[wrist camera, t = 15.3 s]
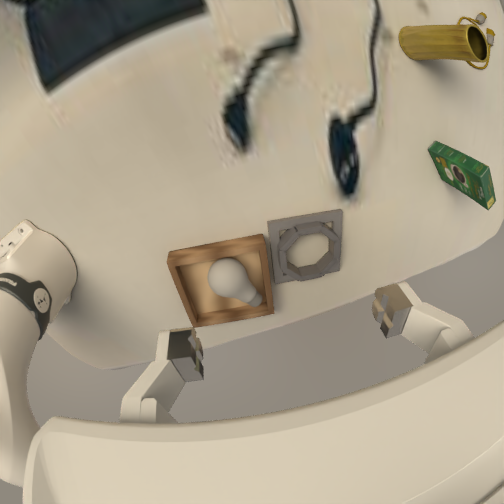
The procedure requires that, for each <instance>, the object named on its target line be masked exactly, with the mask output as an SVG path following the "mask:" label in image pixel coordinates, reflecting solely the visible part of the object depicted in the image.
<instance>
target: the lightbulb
mask: <svg viewBox="0 0 504 504" xmlns="http://www.w3.org/2000/svg"><path fill="white" fill-rule="evenodd" d="M207 278H208V283H209V286H210V288H211V289H212V291H213V292H214V293H216V294H217V295H219V296H222V297H229V298H236V299H239V300H241V301H242V302H244V303H247V304H249V305H250V306H252V307H257V306H259V305H260V304H261V302H262V295H261V294H260V293H259V292H258V291H256V288H255V287H254V286H253V285H252V284H251V282H250V281H249V279H248V276H247V273H246V270H245V268H244V266H243V265H242V264H241V263H240V262H239V261H237V260H236V259H233V258H221V259H219V260H217V261H216V262H214V263H213V264H212V265H211V267H210V269H209V271H208V276H207Z"/></svg>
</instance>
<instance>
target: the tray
mask: <svg viewBox="0 0 504 504" xmlns="http://www.w3.org/2000/svg"><path fill="white" fill-rule="evenodd" d="M221 258H233V259H236V260H237V261H239V262H240V263H241V264H242V265H243V266H244V268H245V270H246V273H247V276H248V279H249V281H250V282H251V284H252V285H253V286H254V287H255V288H256V291H258V292H259V293H260V294H261V295H262V302H261V304H260V305H259V306H257V307H252V306H250V305H249V304H247V303H244V302H242V301H241V300H239V299H236V298H229V297H222V296H219V295H217V294H216V293H214V292H213V291H212V289H211V288H210V286H209V283H208V278H207V276H208V271H209V269H210V267H211V265H212V264H213V263H214V262H216V261H217V260H219V259H221ZM167 265H168V267H169V270H170V273H171V275H172V278H173V280H174V283H175V285H176V288H177V290H178V293H179V295H180V298H181V300H182V303H183V305H184V307H185V310H186V312H187V314H188V317H189V319H190V321H191V324H192V326H193V327H194V328H195V327H202V326H208V325H214V324H221V323H226V322H232V321H238V320H244V319H249V318H254V317H260V316H265V315H270V314H274V306H273V298H272V290H271V282H270V274H269V266H268V259H267V251H266V244H265V241H264V237H263V234H258V235H253V236H248V237H242V238H237V239H232V240H226V241H221V242H216V243H211V244H205V245H200V246H195V247H190V248H185V249H180V250H175V251H170V252H169V254H168V259H167Z"/></svg>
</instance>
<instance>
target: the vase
mask: <svg viewBox="0 0 504 504" xmlns="http://www.w3.org/2000/svg"><path fill="white" fill-rule="evenodd" d="M399 42H400V45H401V48H402V49H403V51H404V52H405V54H406V55H407V56H409V57H410V58H412V59H414V60H429V59H453V60H463V61H472V62H486V61H487V60H488V57H489V47H488V43H487V40H486V37H485V35H484V34H483V32H482V31H481V30H480V29H479V28H478V27H477V26H475V25H473V24H470V25H462V24H460V25H425V26H406V27H403V28H402V29H401V31H400V33H399Z"/></svg>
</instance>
